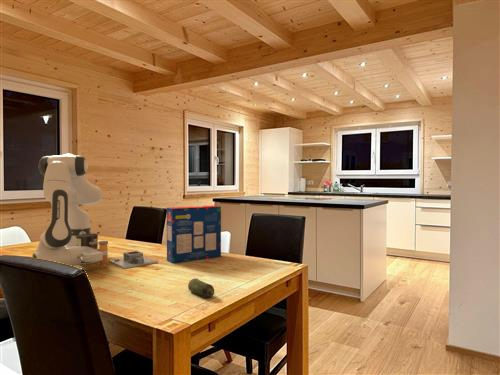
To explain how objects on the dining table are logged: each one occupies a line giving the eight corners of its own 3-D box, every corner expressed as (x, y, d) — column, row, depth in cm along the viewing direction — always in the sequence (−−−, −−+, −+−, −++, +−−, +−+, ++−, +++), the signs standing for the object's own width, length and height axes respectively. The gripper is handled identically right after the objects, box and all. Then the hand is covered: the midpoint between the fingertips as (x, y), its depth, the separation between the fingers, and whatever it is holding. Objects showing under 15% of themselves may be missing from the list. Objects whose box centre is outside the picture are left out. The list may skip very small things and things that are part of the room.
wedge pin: (97, 264, 167) (97, 241, 167) (106, 262, 170) (106, 240, 170) (100, 265, 164) (100, 242, 164) (109, 264, 167) (109, 241, 167)
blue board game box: (214, 254, 197) (214, 205, 197) (221, 256, 190) (220, 206, 190) (166, 260, 181) (166, 207, 181) (172, 263, 175) (172, 208, 174)
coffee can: (102, 260, 182) (102, 233, 182) (89, 265, 172) (89, 236, 172) (85, 259, 184) (84, 233, 184) (71, 264, 174) (71, 236, 174)
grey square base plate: (108, 262, 178) (108, 252, 177) (141, 257, 190) (141, 248, 190) (123, 268, 164) (123, 258, 164) (157, 262, 177) (157, 253, 177)
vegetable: (185, 291, 131) (185, 278, 131) (197, 289, 134) (197, 276, 134) (205, 301, 120) (205, 287, 120) (218, 298, 124) (218, 284, 123)
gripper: (82, 252, 151) (113, 248, 160) (68, 245, 165) (97, 242, 175) (82, 267, 151) (113, 261, 160) (68, 258, 166) (97, 254, 175)
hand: (105, 251), depth 168 cm, fingers closed on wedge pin, 4 cm apart
